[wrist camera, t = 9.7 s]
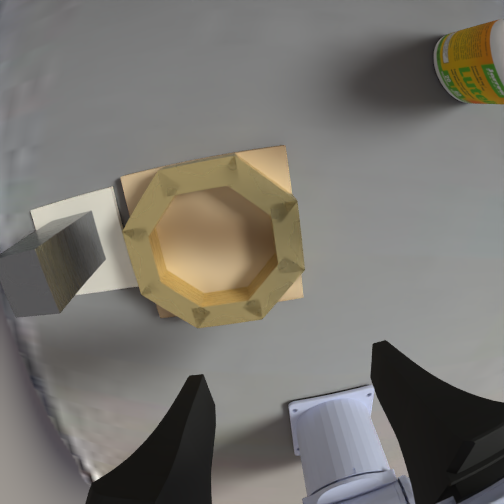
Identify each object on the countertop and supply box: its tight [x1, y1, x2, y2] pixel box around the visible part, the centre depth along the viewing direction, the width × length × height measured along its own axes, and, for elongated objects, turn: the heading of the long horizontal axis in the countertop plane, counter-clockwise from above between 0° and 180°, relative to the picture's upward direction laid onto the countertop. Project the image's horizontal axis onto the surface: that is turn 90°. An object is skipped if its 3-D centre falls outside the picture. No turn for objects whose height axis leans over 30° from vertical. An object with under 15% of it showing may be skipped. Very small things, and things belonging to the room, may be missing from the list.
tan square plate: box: [121, 145, 303, 318], centre depth 20 cm, size 10×10×1 cm
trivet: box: [31, 186, 138, 295], centre depth 20 cm, size 7×7×1 cm
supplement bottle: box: [434, 19, 504, 104], centre depth 12 cm, size 5×5×10 cm
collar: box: [122, 153, 305, 328], centre depth 19 cm, size 10×10×2 cm
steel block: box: [0, 210, 106, 317], centre depth 16 cm, size 4×4×7 cm
